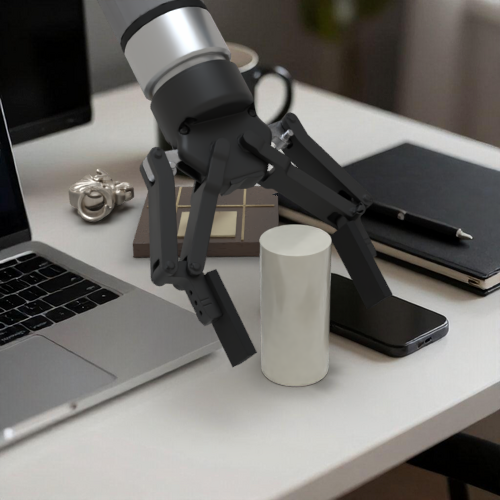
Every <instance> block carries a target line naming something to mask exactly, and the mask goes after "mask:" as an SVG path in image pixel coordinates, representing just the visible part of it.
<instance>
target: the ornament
mask: <svg viewBox="0 0 500 500" xmlns="http://www.w3.org/2000/svg"><path fill="white" fill-rule="evenodd" d="M95 173H96V175H93V176H92V174H91V173H88V174H86V175H84V176H83V178H82V179H79V180H77V181H76V182H74V183H72V184H71V185H70V186H69V188H68V200H69V204H70V205H71V206H72V207H73V208H74V209H77V214H78V215H79V216H80V217H81V218H82V220H84V221H87V222H90V223H96V222H99V221H101V220H103V218H106V217H107V216H108V215H109V214H110V213H112V211H113V209H115V206H117V207H118V206H122V205H123V204H124V203H125V202H130V201H131V200H133V199H134V198H135V188H134V186H133V185H132V184H131V182H127V181H123V182H121V181H120V180H114V181H113V178H112V177H111V175H110V174H109V173H108V172H107V171H106V170H104V169H102V168H100V167H98V168H96V170H95ZM102 205H103V206H102ZM101 206H102V207H101ZM98 207H101V208H100V209H98V210H92V209H95V208H98Z"/></svg>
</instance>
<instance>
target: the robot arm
mask: <svg viewBox="0 0 500 500" xmlns="http://www.w3.org/2000/svg"><path fill="white" fill-rule="evenodd" d="M96 3H98V5H99V7H100V9H101V11H102V13H103V15H104V17H105V19H106V21H107V23H108V26H109V27H110V29H111V31H112V33H113V35H114V37H115V38H116V39H115V40H116V41H117V43H118V44H119V46H120V48H121V50H122V53H123V55H124V57H125V58H126V61H127V62H128V65H129V67H130V69H131V71H132V73H133V75H134V77H135V79H136V81H137V83H138V85H139V87H140V89H141V91H142V93H143V95H144V97H145V99H146V100H148V101H150V104H149V105H150V106H149V107H150V111H151V113H152V115H153V117H154V119H155V121H156V123H157V125H158V127H159V130H160V132H161V133H162V136H163V138H164V140H165V141H166V143H167V144H168V145H169V146H171V148H172V149H170V150H165V149H163V148H161V147H159V146H154V147H152V148H151V149H150V150H149V152H148V153H147V154H146V155H145V158H144V159H143V161H142V162H141V163H140V165H139V172H140V175H141V176H142V180H143V182H144V185H145V187H146V189H147V193H148V208H149V240H150V257H149V267H150V269H149V271H150V281H151V282H152V284H153V285H154V286H156V287H163V286H164V285H172V286H173V287H174V288H175V290H177V291H181V292H182V291H184V292H185V295H186V296H187V298H188V301H189V303H190V304H191V307H192V308H193V311H194V313H195V315H196V317H197V320H198V321H199V322H200V323H201V324H202V326H203V327H205V326H209V325H211V326H212V328H213V330H214V332H215V334H216V336H217V338H218V340H219V342H220V344H221V347H222V349H223V350H224V352H225V355H226V356H227V359H228V361H229V363H230V366H231V367H232V368H235V367H237V366H240V365H241V364H244V362H246V361H247V360H249V359H250V358H251V357H254V356H255V355H256V354H257V353H258V352H257V349H256V347H255V345H254V342H253V341H252V339H251V336H250V335H249V333H248V331H247V329H246V327H245V324H244V322H243V321H242V318H241V316H240V314H239V312H238V311H237V308H236V306H235V304H234V302H233V300H232V298H231V296H230V294H229V292H228V289H227V288H226V286H225V284H224V281H223V280H222V278H221V275H220V273H219V271H218V269H217V268H215V269H211V270H210V271H207V272H206V273H204V271H205V266H206V261H207V257H208V256H207V251H208V246H209V241H210V235H211V230H212V225H213V220H214V215H215V210H216V205H217V200H218V195H219V194H220V195H221V196H225V195H228V194H230V193H232V192H233V191H235V190H236V189H248V188H251V187H254V186H257V185H258V186H262V187H263V188H265V189H273V190H275V191H277V192H278V194H280V195H281V196H283V197H284V198H286V199H287V200H289V201H291V202H292V203H294V204H295V205H297V206H299V207H300V208H302V209H303V210H305V211H306V212H307V213H310V214H311V215H313V216H314V217H316V218H317V219H319V220H320V221H322V222H324V223H325V224H327V225H329V226H330V227H331V228H333V229H334V230H335V231H333V233H331V234H330V237H331V240H332V245H333V246H334V249H335V250H336V252H337V254H338V256H339V258H340V260H341V262H342V264H343V266H344V268H345V269H346V271H347V274H348V276H349V278H350V279H351V281H352V284H353V285H354V287H355V289H356V290H357V293H358V295H359V297H360V299H361V301H362V303H363V304H364V306H365V308H366V310H370V309H372V308H374V307H376V306H377V305H379V304H381V303H382V302H384V301H386V300H387V299H388V298H390V297H392V296H393V295H394V294H393V293H392V290H391V289H390V287H389V285H388V283H387V281H386V278H385V276H384V275H383V273H382V271H381V269H380V267H379V266H378V263H377V261H376V260H375V257H377V255H378V253H377V249H376V247H375V245H374V243H373V241H372V239H371V238H370V236H369V234H368V232H367V230H366V228H365V226H364V224H363V222H362V219H361V218H362V215H363V214H365V213H366V210H367V209H369V207H370V206H372V205H373V203H374V197H373V196H372V194H371V193H370V192H369V191H368V190H367V189H366V188H365V187H364V186H362V184H360V183H359V182H358V180H356V179H355V178H354V176H352V175H351V174H350V173H349V172H348V171H347V170H346V169H345V168H344V167H342V165H341V164H340V163H339V162H338V161H336V159H334V158H333V157H332V156H331V155H330V154H329V153H328V152H327V151H326V150H325V149H324V148H323V147H321V145H320V144H319V143H317V142H316V140H315V139H313V137H311V135H310V134H309V133H308V132H307V130H306V129H305V127H304V125H303V124H302V122H301V120H300V119H299V118H298V115H296V113H294V112H287V113H285V115H284V116H283V117H282V118H281V119H280V120H278V121H275V122H272V123H269V124H267V123H265V122H264V121H263V120H262V119H261V117H259V115H258V113H257V111H256V110H257V109H256V106H255V98H254V96H253V94H252V92H251V90H250V88H249V86H248V84H247V82H246V80H245V78H244V76H243V75H242V72H241V71H240V69H239V67H238V64H236V63H235V62H233V61H232V52H231V50H230V48H229V46H228V45H227V43H226V41H225V39H224V37H223V34H222V33H221V31H220V29H219V28H218V26H217V23H216V22H215V20H214V19H213V16H212V15H211V13H210V10H209V9H208V7H207V5H206V4H205V1H204V0H96ZM272 144H274V145H273V146H272ZM281 151H282V152H281ZM269 165H270V166H272V168H271V169H270V170H269V167H270V166H269ZM177 169H178V170H179V171H180V172H181V173H183V174H185V175H186V176H187V177H189V178H190V179H192V180H193V186H192V187H193V190H192V195H191V199H190V204H191V208H190V213H189V217H188V222H187V227H186V232H185V236H184V241H183V246H182V251H181V255H180V257H178V242H177V219H176V197H175V187H176V181H175V176H176V174H177V172H178V170H177Z"/></svg>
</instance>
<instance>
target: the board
mask: <svg viewBox="0 0 500 500" xmlns="http://www.w3.org/2000/svg"><path fill="white" fill-rule="evenodd" d="M192 190H193V186H175V197H176V219H177V242H178V258H180V255H181V251H182V246H183V241H184V236H185V232H186V227H187V222H188V217H189V213H190V208H191V204H190V199H191V195H192ZM274 193H278V192H277V191H275V190H273V189H265V188H263V187H262V186H260V185H255V186H254V187H251V188H248V189H236V190H235V191H233V192H232V193H230V194H228V195H225V196H221V195H220V194H219V195H218V200H217V205H216V210H215V215H214V220H213V225H212V230H211V235H210V241H209V246H208V251H207V256H206V257H260V248H259V240H260V237H261V235H262V234H263V233H264V232H266V231H267V230H269V229H272V228H274V227H278V226H280V223H279V222H280V221H279V195H278V196H277V195H276V196H275V195H272V194H274ZM278 194H279V193H278ZM132 254H133V257H134V258H150V240H149V208H148V192H147V194H146V196H145V200H144V203H143V207H142V210H141V214H140V217H139V220H138V224H137V227H136V231H135V233H134V237H133V241H132Z"/></svg>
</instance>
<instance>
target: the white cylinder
mask: <svg viewBox="0 0 500 500" xmlns="http://www.w3.org/2000/svg"><path fill="white" fill-rule="evenodd" d="M330 236H331V234H329V233H328V232H327V231H326V230H324V229H322V228H319V227H316V226H313V225H307V224H283V225H279V226H278V227H274V228H272V229H269V230H267V231H266V232H264V233H263V234H262V235H261V237H260V240H259V248H260V256H259V302H260V303H259V307H260V308H259V312H260V368H261V373H262V374H263V375H264V376H265V377H266V379H268V380H269V381H271V382H273V383H275V384H276V385H277V384H278V385H281V386H284V387H285V386H286V387H306V386H310V385H314V384H316V383H318V382H319V381H321V380H323V379H324V378H325V377H326V376H327V374H328V372H329V365H330V363H329V362H330V361H329V360H330V322H331V282H332V281H331V280H332V245H333V243H332V240H331V237H330Z"/></svg>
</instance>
